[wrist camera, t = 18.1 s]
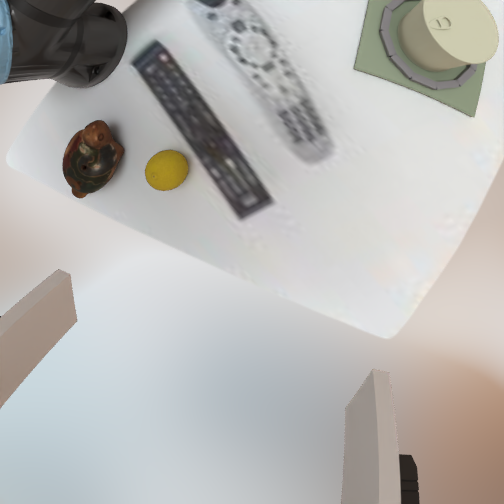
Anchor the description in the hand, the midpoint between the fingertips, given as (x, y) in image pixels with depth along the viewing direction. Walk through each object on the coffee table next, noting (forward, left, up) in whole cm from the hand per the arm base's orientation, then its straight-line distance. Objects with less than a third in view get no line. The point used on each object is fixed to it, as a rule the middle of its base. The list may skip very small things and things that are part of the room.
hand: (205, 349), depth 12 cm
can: (+14, +24, -34) cm, 44 cm away
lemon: (-16, -3, -35) cm, 39 cm away
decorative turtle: (-30, -4, -35) cm, 46 cm away
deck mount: (+14, +24, -35) cm, 44 cm away
